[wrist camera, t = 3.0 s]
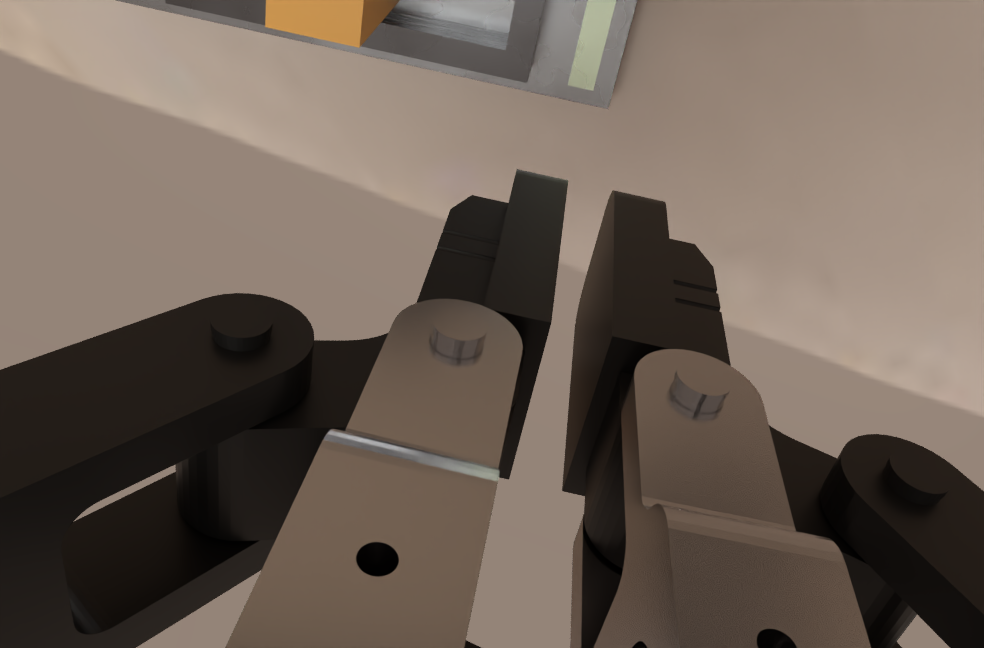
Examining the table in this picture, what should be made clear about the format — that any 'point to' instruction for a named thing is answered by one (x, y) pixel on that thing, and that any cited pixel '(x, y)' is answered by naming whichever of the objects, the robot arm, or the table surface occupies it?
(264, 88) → the table surface
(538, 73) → the panel
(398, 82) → the table surface
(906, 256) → the table surface
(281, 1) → the block
